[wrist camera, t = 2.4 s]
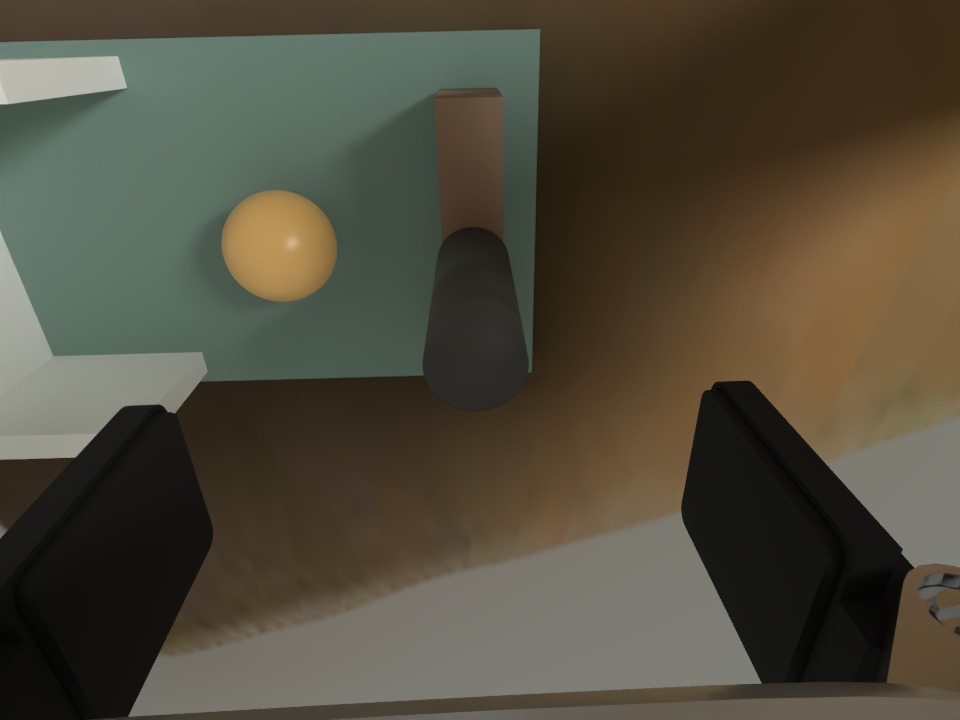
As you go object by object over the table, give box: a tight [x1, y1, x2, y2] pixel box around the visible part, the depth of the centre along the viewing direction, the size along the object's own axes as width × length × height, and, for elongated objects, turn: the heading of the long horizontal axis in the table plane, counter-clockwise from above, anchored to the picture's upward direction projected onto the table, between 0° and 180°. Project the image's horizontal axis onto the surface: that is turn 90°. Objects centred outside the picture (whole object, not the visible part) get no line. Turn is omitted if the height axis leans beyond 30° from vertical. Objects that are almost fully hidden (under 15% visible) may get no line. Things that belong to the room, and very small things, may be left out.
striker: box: [422, 87, 529, 411], centre depth 18 cm, size 2×10×11 cm, turn 1°
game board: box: [0, 29, 540, 460], centre depth 21 cm, size 23×14×8 cm, turn 91°
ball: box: [221, 190, 337, 302], centre depth 21 cm, size 4×4×4 cm
